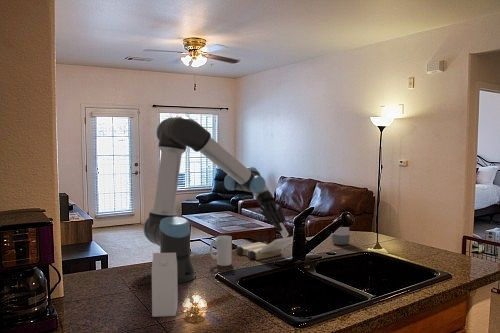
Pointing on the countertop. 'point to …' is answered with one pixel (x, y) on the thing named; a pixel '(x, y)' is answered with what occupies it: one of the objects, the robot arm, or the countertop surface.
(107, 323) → the countertop surface
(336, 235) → the smart speaker
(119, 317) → the countertop surface
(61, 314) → the countertop surface
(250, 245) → the flatbed
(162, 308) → the milk carton
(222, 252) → the mug
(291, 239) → the panel
